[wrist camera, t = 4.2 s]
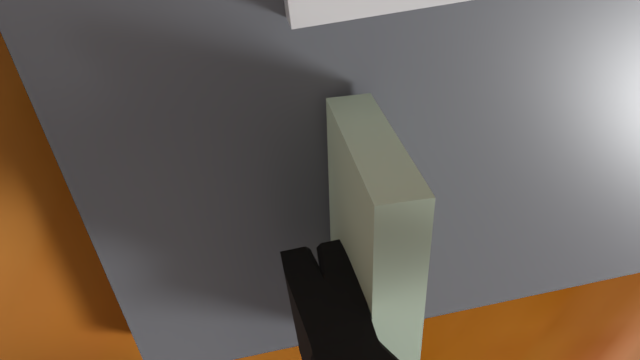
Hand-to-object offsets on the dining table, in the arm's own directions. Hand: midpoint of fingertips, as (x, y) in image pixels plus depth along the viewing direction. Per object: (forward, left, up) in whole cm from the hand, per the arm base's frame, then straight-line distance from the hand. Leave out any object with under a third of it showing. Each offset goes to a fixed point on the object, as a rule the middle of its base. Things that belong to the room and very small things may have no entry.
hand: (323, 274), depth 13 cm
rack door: (0, -1, -1) cm, 2 cm away
